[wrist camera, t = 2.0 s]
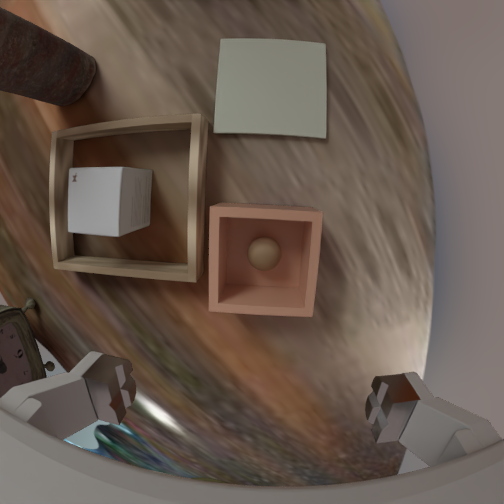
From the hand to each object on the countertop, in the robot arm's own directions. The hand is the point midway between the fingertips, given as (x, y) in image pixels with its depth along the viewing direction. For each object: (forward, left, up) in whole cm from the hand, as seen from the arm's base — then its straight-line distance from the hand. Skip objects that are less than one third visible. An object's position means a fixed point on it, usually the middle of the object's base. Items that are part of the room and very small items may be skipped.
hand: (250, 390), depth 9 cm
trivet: (-17, 0, -22) cm, 28 cm away
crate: (-5, -15, -22) cm, 27 cm away
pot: (0, 0, -22) cm, 22 cm away
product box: (-5, -15, -22) cm, 27 cm away
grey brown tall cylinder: (-20, -24, -22) cm, 38 cm away
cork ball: (0, 0, -20) cm, 20 cm away
